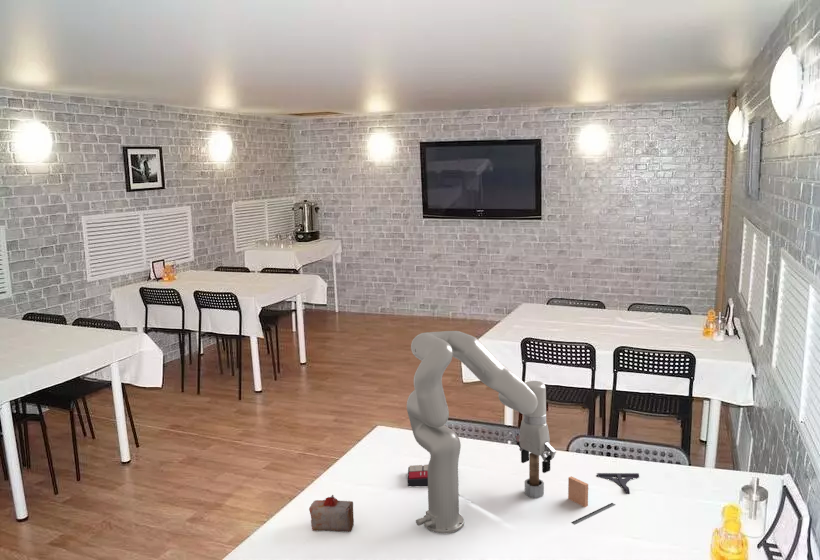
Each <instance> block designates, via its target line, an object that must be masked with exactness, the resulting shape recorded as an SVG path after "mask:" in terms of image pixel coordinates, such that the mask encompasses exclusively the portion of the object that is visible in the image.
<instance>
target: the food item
mask: <svg viewBox="0 0 820 560" xmlns="http://www.w3.org/2000/svg"><path fill="white" fill-rule="evenodd" d="M308 511H309V514H310V518H311V520H310V526H311V530H312V532H321V531H322V532H323V531H325V532H337V533H339V532H340V533H351V532H352V531H353V528H354V526H355V525H354V524H355V521H354V520H355V519H354V502H353V501H350V500H348V501H347V500H339V499H337V497H335V496H334V494H332V495H331V496H328V497H325V499H323V500H319V499H317V500H313V502H312V503H311V504H310V506H309V509H308Z"/></svg>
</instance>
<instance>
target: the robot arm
mask: <svg viewBox="0 0 820 560" xmlns="http://www.w3.org/2000/svg"><path fill="white" fill-rule="evenodd" d="M410 351H411V353H412V355H413V356H414V357H415V358H416V359H418V360H419V361H420V363H419V365H418V366H417V368H416V370H415V373H414V375H413V388H414V390H413V391H411V393H410V394H409V395H408V398H407V401H406V411H407V416H408V419H409V422H410V423H409V424H410V427H411V430H412V434H413V436H414V440H415V441H416V442H417V444H418V445H420V446H421V448H423V449H424V450H425V451H427V452H428V453H429V454H430V455H429V456H430V459H429V461H428V464H427V465H428V487H427V494H428V496H427V500H428V501H427V502H428V503H427V504H428V510H425V515H423V517H420V518H418V519H415V523H416V526H418V527H419V526H421V525H423V526H424V528H426V529H427V530H428V531H430V532H431V533H432V532H433V533H437V534H441V535H442V534H452V533H455V532H458V531H459V530H461V529H462V528H463V527H464V524H465V520H464V517H463V515H461V514H460V507H459V505H460V501H459V496H460V495H459V460H460V453H461V446H462V444H461V440H460V438H459V436H458V434H457V433H456V432H455V431H454V430H453V429H451V428H450V427H448V426H447V425H446V424H447V422H448V420H449V417H450V416H449V415H450V413H449V412H450V410H449V407H448V403H447V399H446V395H445V391H444V386H443V380H442V379H443V375H444V373H445V371H446V369H447V368H448V366H450V364H451V362H452V360H453V358H454V359H456V360H458V361H460V362H461V363H462V364H463V365H465V367H466V368H468V370H469V371H470V372H471V373H472V374H473V375H474V376H475V377H476V378H477V379H478V380H479V381H480V382H481V383H483V384H484V385H485V386H487V387H489V388H490V389H492V390H493V391H495V392H497V393H498V400H499V401H500V403H501V404H502V405H504V406H506V407H507V408H510V409H511V410H514V411H516V412H517V413H519V414H522V418H523V419H522V420H521V421H520V429H519V434H518V435H515V438H516V442H517V443H516V444H517V445H518V447H519V451H520V456H521V457H520V463H522V464H525V463H527V462H529V454H530V453H533V454H535V455H538V456H539V457H541V458H542V461H541V466H542V467H541V469H542V470H541V472H542V473H543V474H546V473H548V472H550V471H551V461H552V460H553V459H554V457H555V455H556V453H557V451H556V449H555V448H554V447H553V446H552V445H551V444H550V443H551V442H550V441H551V439H550V432H549V426H548V423H547V388H546V385H545V383H544V382H542V381H539V380H530V381H529V380H528V381H526V382H524V381H523V380H522V379H521V378H520V377H518V376H517V375H516V374H515V373H513V372H512V371H511V370H510V369H509V368H508V367H507V366H505V365H504V364H503V363H501V361H499V360H498V359H497V357H496V356H494V355H493V353H491V352H490V351H489V349H488V348H487V347H486V346H485V345H484V344H483V343H482V342H481V341H480V340H479V339H478V338H476V336H473V335H471V334H468V333H466V332H463V331H459V330H444V331H430V332H421V333H419V334H417V335H416V336H415V337H414V338H413V339H412V340H411V344H410Z"/></svg>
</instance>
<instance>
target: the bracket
mask: <svg viewBox="0 0 820 560" xmlns="http://www.w3.org/2000/svg"><path fill="white" fill-rule="evenodd" d="M596 476H597V477H598V478H600V479H605V480H608V479H609V480H608V481H612V482H614V483H616V484H617V483H618V484H617V485H619V486H620V487H621V486H622V487H621V488H623V491H624V492H625V494H626V495H630V494H631V492H630V487H629V486H627V484H628V482H629V480H630V479H632V480H634V479H633V478H636V479H639V478H640V473H638V472H637V473H636V472H632V473H631V472H628V473H627V472H625V473H623V472H622V473H621V472H620V473H617V472H615V473H613V472H602V473H601V472H598V473H596ZM617 478H618V479H617ZM630 481H631V480H630Z"/></svg>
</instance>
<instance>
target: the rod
mask: <svg viewBox="0 0 820 560" xmlns="http://www.w3.org/2000/svg"><path fill="white" fill-rule="evenodd" d="M528 462H529V463H528V464H529V466H528V467H529V468H528V469H529V478H528V479H529V485H532V486H539V479H540V456H538V455H535V454H533V453H531V452H529V461H528Z"/></svg>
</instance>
